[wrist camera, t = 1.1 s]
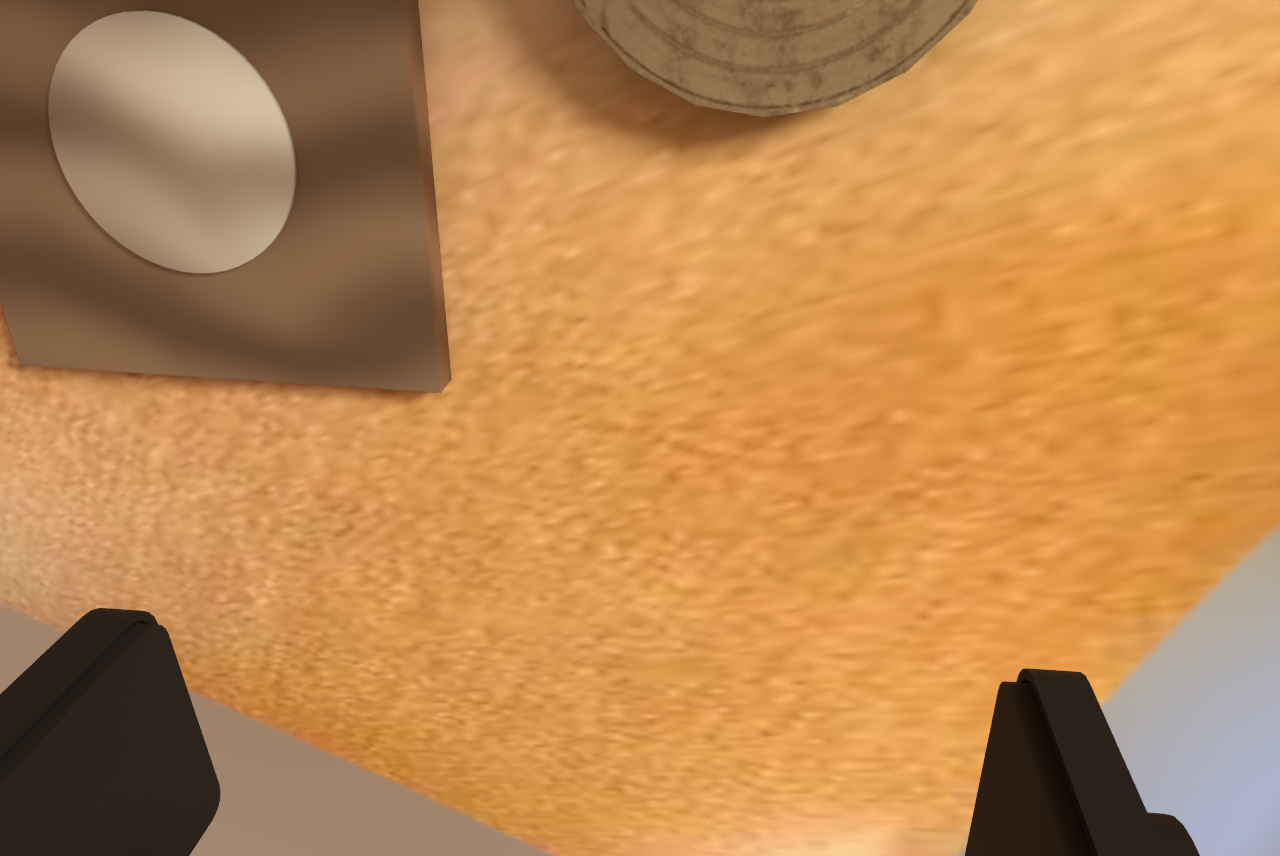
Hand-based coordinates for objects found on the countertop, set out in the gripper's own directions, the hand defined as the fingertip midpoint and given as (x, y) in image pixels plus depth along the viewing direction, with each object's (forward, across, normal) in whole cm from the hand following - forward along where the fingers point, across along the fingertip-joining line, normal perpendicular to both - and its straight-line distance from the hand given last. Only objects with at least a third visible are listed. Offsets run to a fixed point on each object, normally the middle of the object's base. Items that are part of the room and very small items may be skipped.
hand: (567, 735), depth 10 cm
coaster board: (+28, +21, -2) cm, 36 cm away
